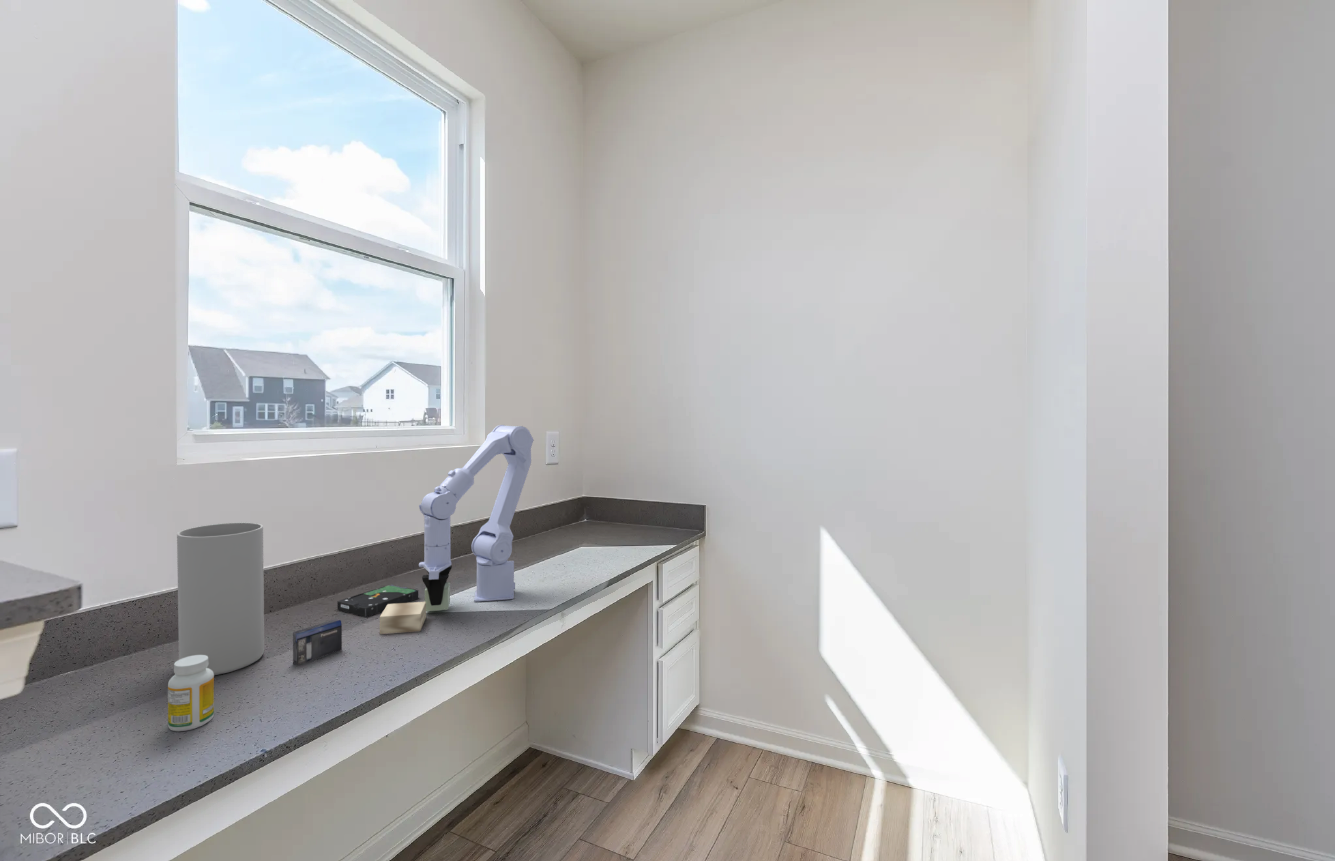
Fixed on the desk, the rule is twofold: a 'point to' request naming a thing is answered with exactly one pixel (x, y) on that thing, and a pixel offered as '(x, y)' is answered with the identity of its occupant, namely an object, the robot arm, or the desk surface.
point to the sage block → (445, 599)
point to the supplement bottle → (190, 694)
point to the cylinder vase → (221, 594)
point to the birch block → (403, 617)
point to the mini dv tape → (317, 641)
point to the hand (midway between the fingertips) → (437, 600)
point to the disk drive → (376, 600)
